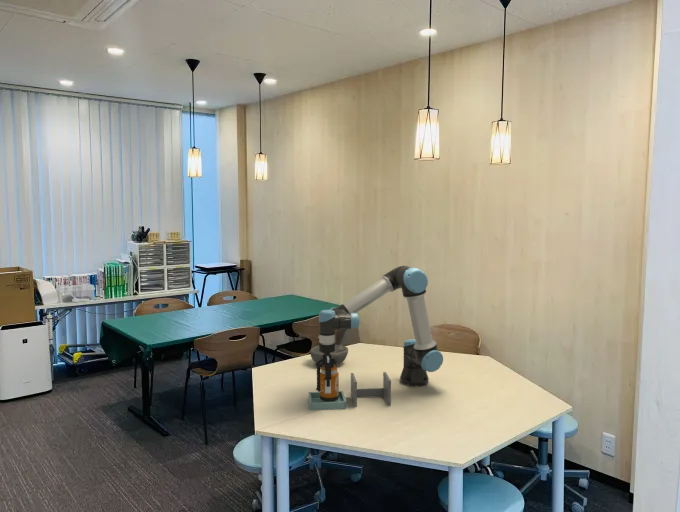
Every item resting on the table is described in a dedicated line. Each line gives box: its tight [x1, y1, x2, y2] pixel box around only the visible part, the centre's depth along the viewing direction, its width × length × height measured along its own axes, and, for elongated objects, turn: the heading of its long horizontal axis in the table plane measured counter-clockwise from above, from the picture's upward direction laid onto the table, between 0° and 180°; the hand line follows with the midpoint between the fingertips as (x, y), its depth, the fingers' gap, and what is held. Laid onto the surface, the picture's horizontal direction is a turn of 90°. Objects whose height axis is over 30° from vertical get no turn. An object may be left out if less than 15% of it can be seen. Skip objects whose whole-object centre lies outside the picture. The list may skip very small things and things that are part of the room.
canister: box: [314, 359, 340, 402], centre depth 253 cm, size 9×11×20 cm
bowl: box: [309, 344, 349, 367], centre depth 316 cm, size 23×22×10 cm
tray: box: [308, 390, 348, 411], centre depth 253 cm, size 17×15×3 cm
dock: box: [350, 371, 392, 408], centre depth 256 cm, size 17×14×12 cm
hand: (327, 389), depth 253 cm, fingers closed on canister, 9 cm apart
